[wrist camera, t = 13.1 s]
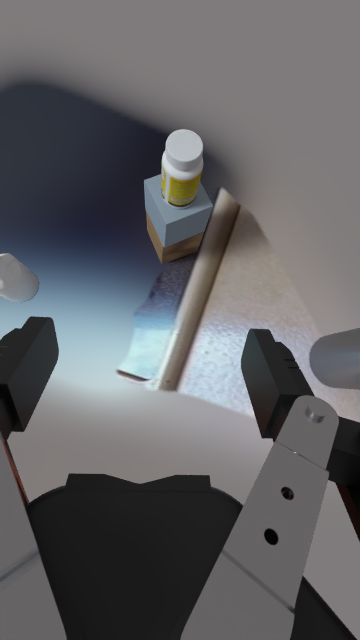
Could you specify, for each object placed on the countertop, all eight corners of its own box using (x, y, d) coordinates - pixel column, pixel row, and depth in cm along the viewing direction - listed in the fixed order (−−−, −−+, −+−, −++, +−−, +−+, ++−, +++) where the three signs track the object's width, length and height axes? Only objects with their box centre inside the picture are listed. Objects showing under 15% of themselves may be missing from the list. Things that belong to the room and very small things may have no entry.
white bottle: (-13, 230, 38) (13, 261, 37) (27, 264, 49) (47, 289, 49) (-54, 257, 36) (-28, 290, 36) (-4, 286, 48) (17, 311, 48)
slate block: (185, 194, 47) (190, 163, 40) (204, 231, 46) (213, 205, 39) (145, 209, 46) (144, 180, 39) (164, 247, 45) (166, 224, 38)
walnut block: (182, 218, 53) (186, 195, 47) (197, 251, 52) (203, 232, 46) (147, 230, 52) (146, 208, 46) (161, 264, 51) (162, 247, 45)
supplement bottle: (203, 196, 39) (216, 148, 31) (177, 216, 38) (183, 172, 30) (179, 171, 39) (186, 118, 31) (153, 191, 39) (153, 141, 30)
